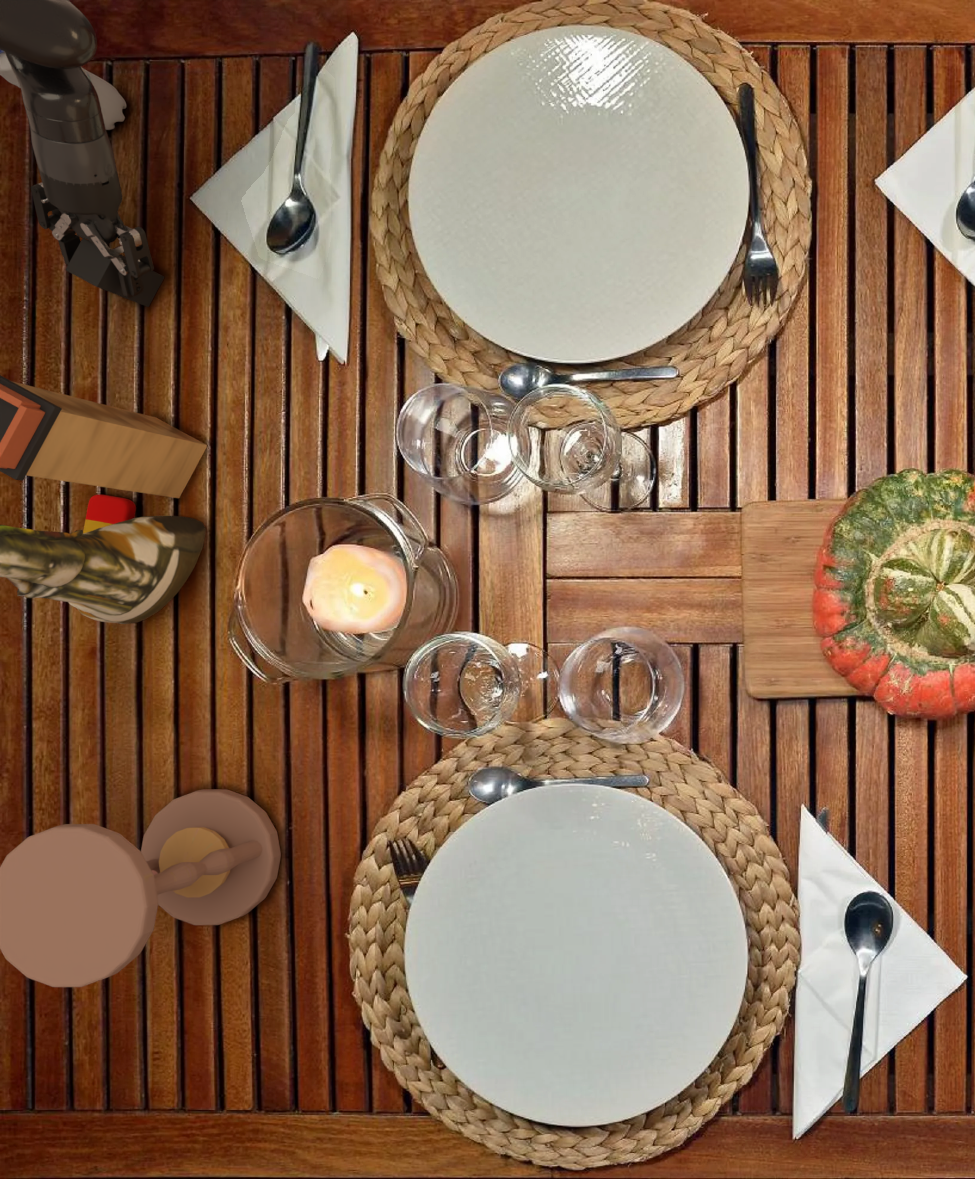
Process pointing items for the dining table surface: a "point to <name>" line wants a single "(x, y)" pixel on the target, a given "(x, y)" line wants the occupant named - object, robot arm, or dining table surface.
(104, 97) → the bottle
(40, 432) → the base pad
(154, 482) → the stand
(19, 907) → the hourglass
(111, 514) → the popsicle
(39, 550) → the statue
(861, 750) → the dining table surface
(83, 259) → the post
